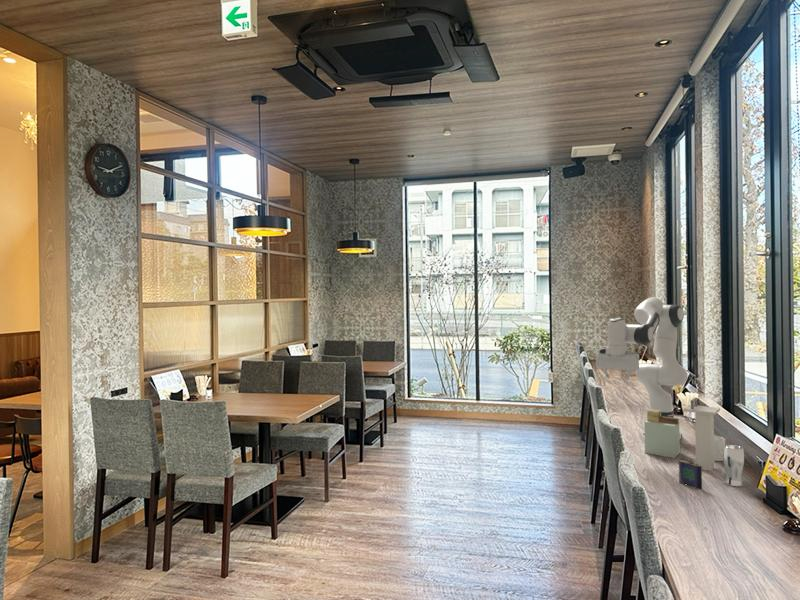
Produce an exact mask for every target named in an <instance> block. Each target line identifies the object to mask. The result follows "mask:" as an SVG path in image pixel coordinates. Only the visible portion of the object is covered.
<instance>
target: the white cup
mask: <svg viewBox="0 0 800 600" xmlns="http://www.w3.org/2000/svg"><path fill="white" fill-rule="evenodd" d="M724 445H726V438H725V437H723V436H719V435H714V462H724V458H723V453H724Z"/></svg>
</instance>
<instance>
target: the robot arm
mask: <svg viewBox="0 0 800 600" xmlns="http://www.w3.org/2000/svg"><path fill="white" fill-rule="evenodd" d="M684 313H685V312H684V309H683V308H682V307H681V306H680V305H679V304H664V303H663V301H662V300H661V299H660V298H658V297H654V296H651V297H647V298H646V299H644V300H643V301H642V302H640V303H639V304H638V305H637V307H635V309H634V311H633V315H634V318H635V320H636V321H637V322H638V323H639V324H632V323H631V324H629V323H626V319H625V318H623V317H612V318H610V319H609V320H608V322H607V329H606V330H607V331H606V333H607V334H606V336H607V338H608V339H607V343H606V344H607V346H606V347H603V348H599V349H597V355H596V359H595V367H596V368H597V369H602V370H603V373H604V375H605V379H610V377H611V375H610V374H609V373H608V370H619V371H627V375H625V376H624V379H625V380H630V375H631V374H632V373H633V371H634V372H635V377H636V379H637V380H638V381H639V382H640V383H641V384H642V386H644V388H645V389H646V392H647V394H648V398H649V409H648V410H650V409H652V410H661V416H664V417H672V418H675V413H674V412H675V411H674V410H673V396H672V395H671V394H670V393H669V392H667V391H666V390H664V389H663V388H662V386H670V387H679V386H683V385H685V384H686V382H688V378H689V377H688V373H687V370H686V369H685V367H683V366H682V365H681V364H680V363H679V362H678V359H677V344H678V327H679V325H680V324H682V322H683V320H684V317H685V314H684ZM654 334H655V336H654ZM653 338H654V342H653V349H652V353H653V355H654V356H655V358H657V359H659V360H661V361H662V364H659V363H642V364H640V362H639V361H640V354H639V353H638V352H637V351H627V350H628V349H627V348H628V346H627V344H633V345H634V344H635V345H642V346H643V345H644V346H646V345H648V344H649V343H651V342H652V340H653ZM645 421H647V418H646V420H645ZM642 435H645V430H644V431H642ZM681 439H682V432H681V431H680V430H679V440H681Z"/></svg>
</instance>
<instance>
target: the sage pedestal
mask: <svg viewBox="0 0 800 600" xmlns="http://www.w3.org/2000/svg"><path fill="white" fill-rule="evenodd" d="M644 431H645V434H644V454H649V455H654V454H656V456H660V455H661V457H666V456H667V457H666V458H673V459H675V458H676V457H677V456H678V455H680V452H681V451H680V439H679V431H680V423H679V424H669V423H662V422H659V423H657V422H650V421H646V420H645V421H644Z"/></svg>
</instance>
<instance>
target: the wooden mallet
mask: <svg viewBox="0 0 800 600" xmlns="http://www.w3.org/2000/svg"><path fill="white" fill-rule="evenodd" d="M649 409H650V408H649ZM649 409H648V410H647V411H646V419H647V421H650V422H657V423H659V422H662V423H669V424H679V425H680V421H679V418H678V417H674V418H672V417H664V416H661V410H652V409H650V410H649Z"/></svg>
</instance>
